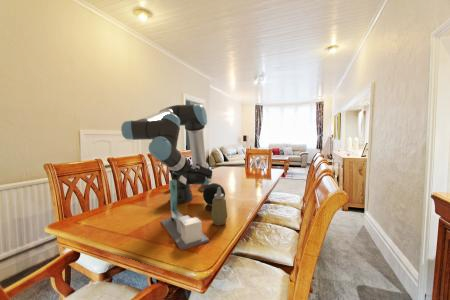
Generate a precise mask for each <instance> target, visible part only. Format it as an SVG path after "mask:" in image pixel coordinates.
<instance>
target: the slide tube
mask: <svg viewBox="0 0 450 300" xmlns="http://www.w3.org/2000/svg"><path fill="white" fill-rule="evenodd" d="M170 180H171V181H170ZM170 180H169V181H170V189H169V190H170V195H169V196H170V197H171V201H170V218H171V220H175V221H176V222H177V218H178V217H182V216H183V214H182V213H181V212H180V211H179V210H178V203H177V181H176V180H172V179H170ZM170 197H169V198H170Z"/></svg>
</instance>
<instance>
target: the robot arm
mask: <svg viewBox="0 0 450 300" xmlns="http://www.w3.org/2000/svg"><path fill="white" fill-rule="evenodd" d="M207 115H208V114H207V112H206V109H205V107H204V106H203V105H202V104H196V103H195V104H194V103H193V104H176V105H175V104H174V105H171V106H167V107H165V108H162V109H160V110H159V111H158V112H157V113H154V114H151V115H148V116H146V117H143V118H140V119H137V120H132V119H131V120H126V121H125V120H124V122H123V123H122V124H121V129H120V130H121V135H122V137H123V138H124V139H126V140H131V141H132V140H133V141H136V140H137V141H138V140H141V141H142V140H143V141H144V140H151V142H149V145H148V151H149V153H150V155H151V156H153V157H154V158H155V159H156V160H157V161H159V162H160V163H162V164H163V165H164V166H165V167H167V168H168V169H169V170H168V173H170V178H171V179H170V180H176V181H177V204H182V203H189V202H191V201H192V200H193V198H194V197H193V196H194V195H193V194H192V190H191V185H193V186H194V185H198V186H199V185H200V186H201V185H207V184H212V183H213V182H212V181H213V170H212V169H213V167H211V166H210V165H209V163H208V162H207V160H206V152H205V151H206V150H205V139H204V131H203V130H204V129H205V126H206V125H207V123H208V119H207V118H208V117H207ZM181 126H184V129H185V131H187V133H188V139H189V148H190V155H191V162H192V164H191V163H190V161H189V159H188V158H186V156H184V155H183V153H182V152H180V150H178V141H179V135H180V130H181ZM169 201H170V202H171V197H169Z"/></svg>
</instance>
